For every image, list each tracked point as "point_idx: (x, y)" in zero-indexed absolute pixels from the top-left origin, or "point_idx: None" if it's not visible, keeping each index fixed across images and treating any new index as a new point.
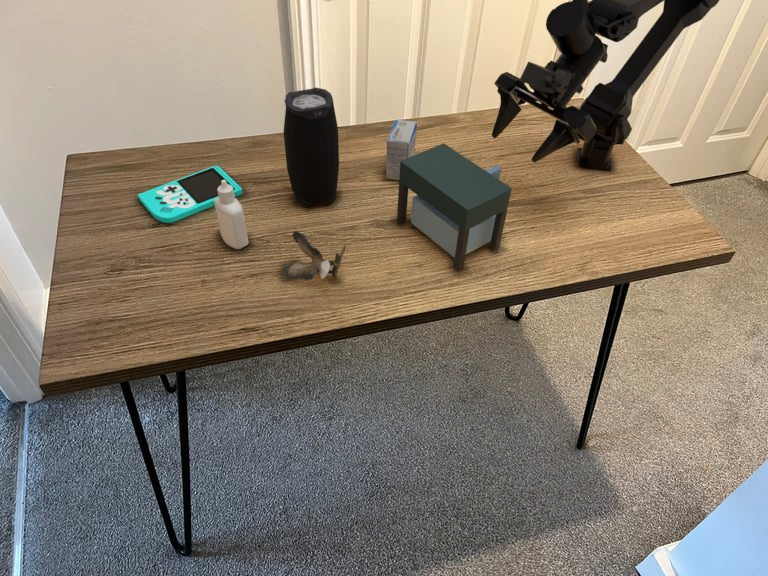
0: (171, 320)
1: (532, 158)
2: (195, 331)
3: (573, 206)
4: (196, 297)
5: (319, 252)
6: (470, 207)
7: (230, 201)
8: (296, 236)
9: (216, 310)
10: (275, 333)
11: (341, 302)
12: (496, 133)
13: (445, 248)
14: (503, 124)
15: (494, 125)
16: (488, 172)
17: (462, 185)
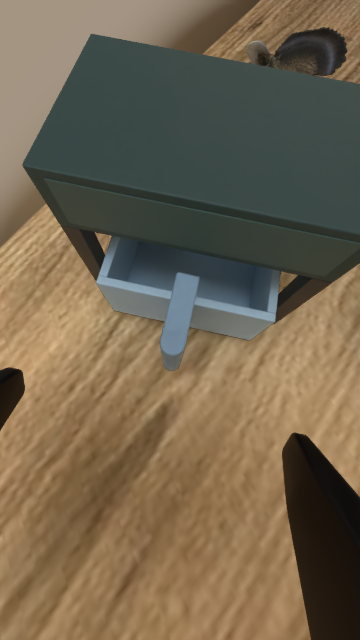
0: (317, 2)
1: (12, 370)
2: (289, 5)
3: (13, 552)
4: (331, 25)
5: (283, 42)
6: (90, 42)
7: None
8: (336, 48)
9: (301, 24)
10: (232, 33)
11: None
12: (295, 461)
13: None
14: (319, 551)
15: (348, 484)
16: (180, 294)
17: (166, 95)
